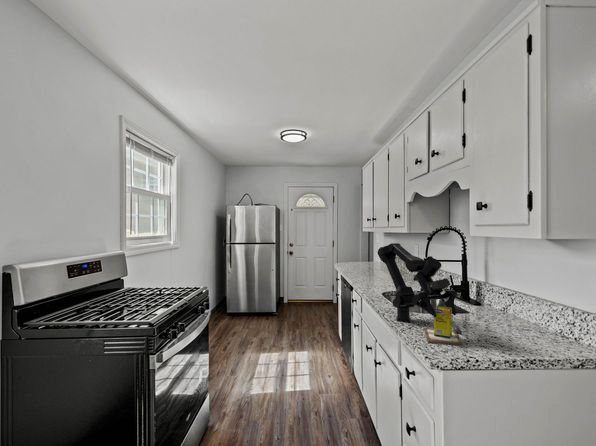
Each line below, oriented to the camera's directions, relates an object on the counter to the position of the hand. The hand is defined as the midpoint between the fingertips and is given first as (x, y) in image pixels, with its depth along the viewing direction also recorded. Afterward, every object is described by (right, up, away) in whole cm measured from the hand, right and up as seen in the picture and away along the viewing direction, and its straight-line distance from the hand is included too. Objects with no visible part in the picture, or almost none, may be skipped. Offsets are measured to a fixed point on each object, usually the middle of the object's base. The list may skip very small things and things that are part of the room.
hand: (445, 315), depth 128 cm
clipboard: (-1, -9, +2) cm, 9 cm away
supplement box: (0, -8, +1) cm, 8 cm away
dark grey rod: (+9, -8, +12) cm, 17 cm away
